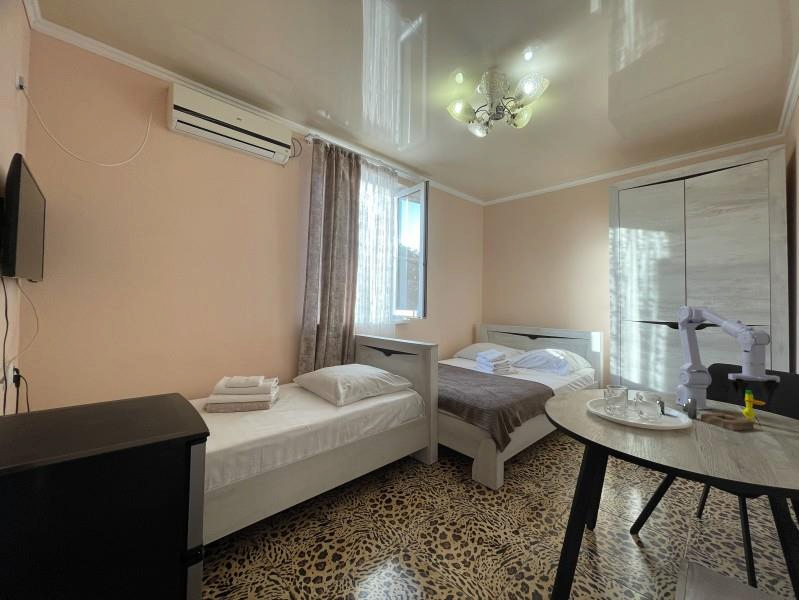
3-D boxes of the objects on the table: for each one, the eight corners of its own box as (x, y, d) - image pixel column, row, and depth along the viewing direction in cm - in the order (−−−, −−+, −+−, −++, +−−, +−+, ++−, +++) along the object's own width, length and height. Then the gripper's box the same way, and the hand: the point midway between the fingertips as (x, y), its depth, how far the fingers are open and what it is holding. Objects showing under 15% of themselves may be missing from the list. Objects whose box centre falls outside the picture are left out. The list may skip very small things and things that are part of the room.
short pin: (681, 410, 137) (681, 403, 137) (686, 410, 137) (686, 403, 137) (687, 412, 134) (687, 405, 134) (692, 412, 135) (692, 404, 135)
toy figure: (766, 425, 121) (766, 392, 121) (763, 426, 119) (763, 393, 119) (741, 419, 127) (741, 388, 127) (737, 420, 125) (737, 389, 125)
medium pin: (654, 412, 134) (654, 400, 134) (659, 412, 134) (659, 400, 134) (660, 414, 131) (660, 402, 131) (666, 414, 132) (666, 401, 132)
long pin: (686, 417, 128) (686, 398, 128) (691, 416, 129) (691, 397, 129) (693, 419, 126) (693, 400, 126) (698, 419, 126) (698, 399, 126)
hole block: (700, 420, 124) (700, 414, 124) (720, 419, 127) (720, 412, 127) (732, 430, 115) (732, 423, 115) (753, 428, 117) (753, 421, 117)
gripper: (739, 364, 116) (739, 402, 116) (788, 366, 113) (788, 404, 113) (723, 360, 123) (723, 396, 123) (769, 362, 120) (769, 399, 120)
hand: (753, 400), depth 118 cm, fingers open, 7 cm apart
